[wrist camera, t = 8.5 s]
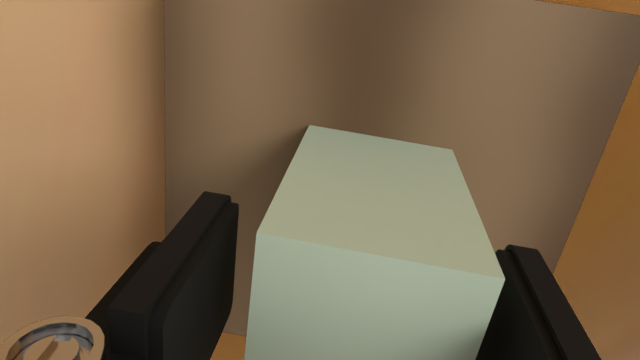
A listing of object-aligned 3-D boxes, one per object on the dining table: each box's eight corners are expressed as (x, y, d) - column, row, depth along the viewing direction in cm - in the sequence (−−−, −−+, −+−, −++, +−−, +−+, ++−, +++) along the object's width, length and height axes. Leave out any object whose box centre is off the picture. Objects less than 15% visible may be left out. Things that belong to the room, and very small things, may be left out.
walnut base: (602, 9, 14) (658, 18, 11) (488, 326, 19) (506, 386, 16) (205, -48, 14) (163, -54, 12) (197, 272, 19) (166, 321, 17)
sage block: (452, 149, 13) (505, 279, 7) (419, 269, 14) (442, 447, 9) (309, 125, 13) (256, 232, 8) (292, 245, 15) (239, 406, 9)
